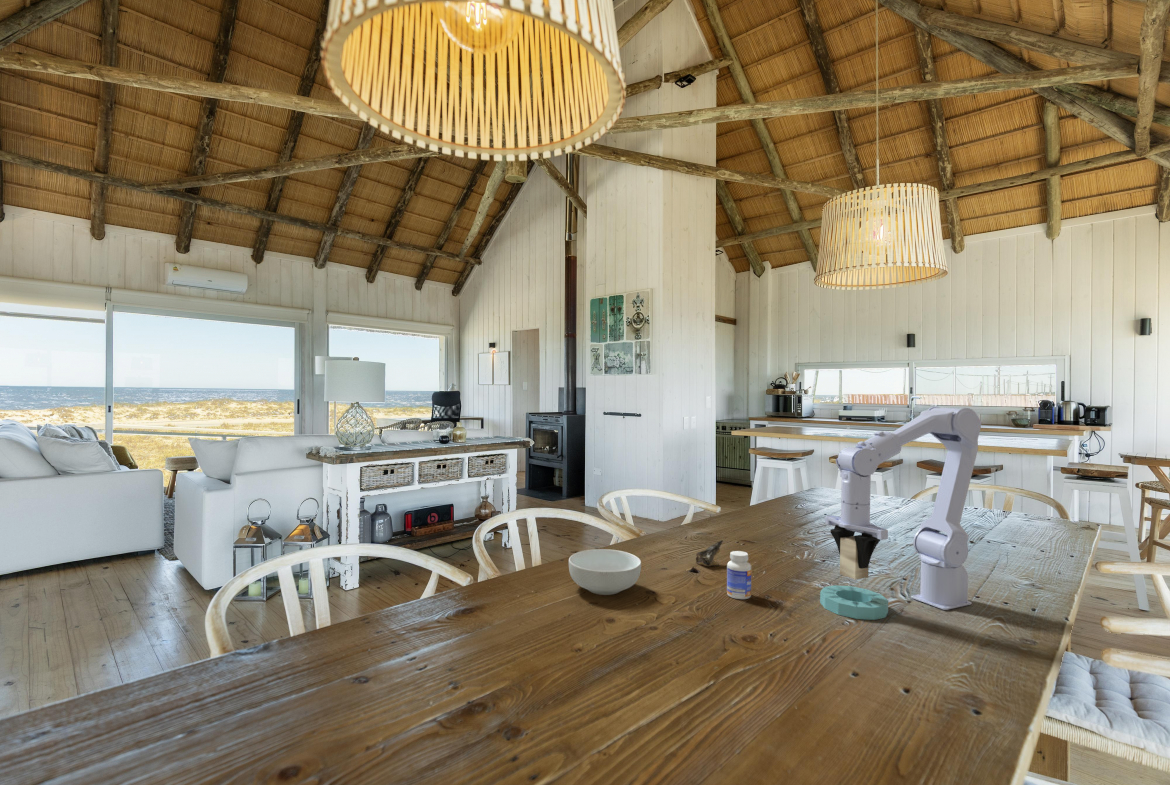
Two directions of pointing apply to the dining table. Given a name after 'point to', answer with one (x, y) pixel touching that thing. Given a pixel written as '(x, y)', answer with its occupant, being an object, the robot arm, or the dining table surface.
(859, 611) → the bead ring
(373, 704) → the dining table surface
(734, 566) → the pill bottle
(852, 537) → the ash peg
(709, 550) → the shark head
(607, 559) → the cereal bowl
